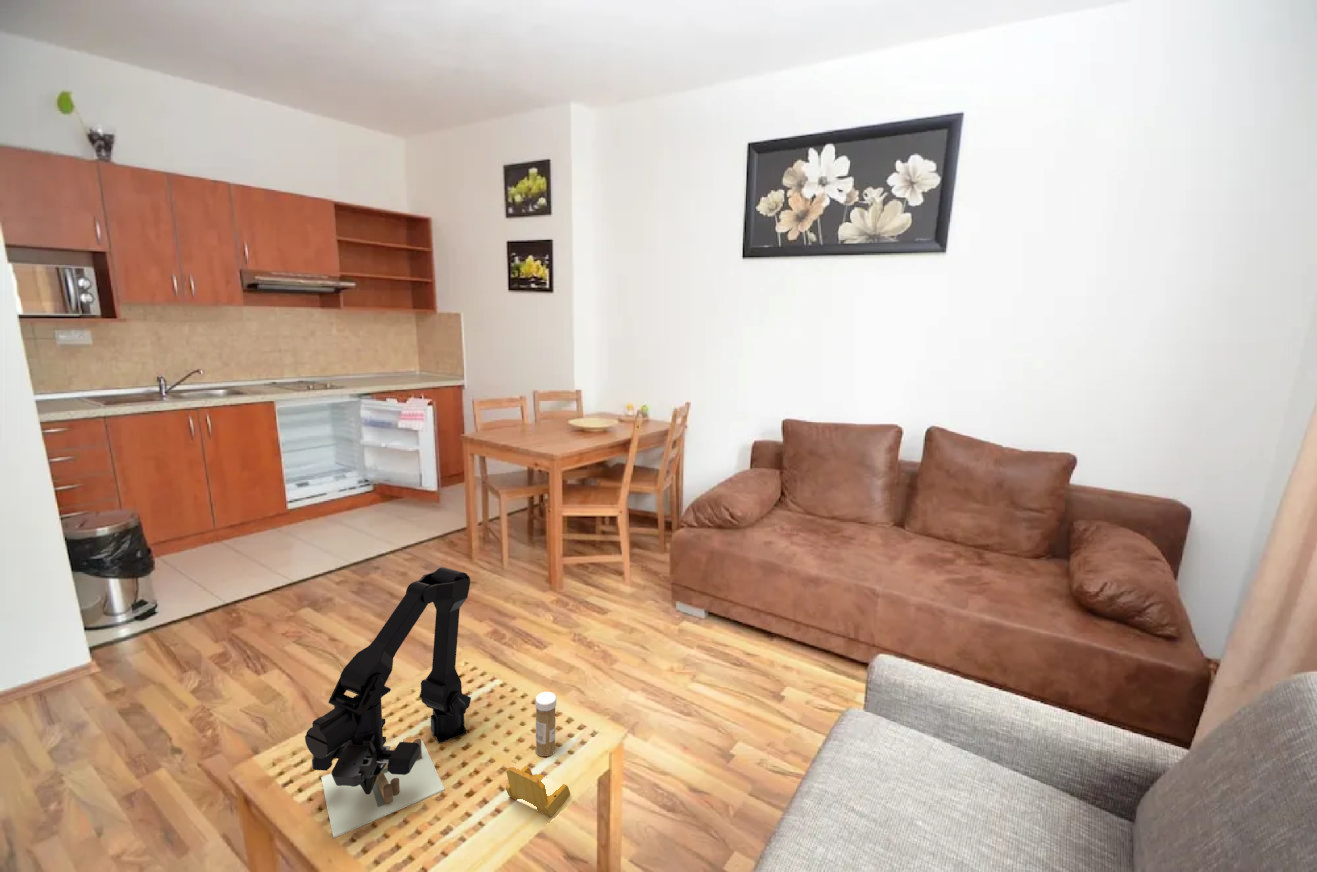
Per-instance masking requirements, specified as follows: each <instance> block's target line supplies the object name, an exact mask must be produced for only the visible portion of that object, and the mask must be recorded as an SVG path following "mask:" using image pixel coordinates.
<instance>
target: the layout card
mask: <svg viewBox="0 0 1317 872" xmlns="http://www.w3.org/2000/svg"><path fill="white" fill-rule="evenodd" d="M421 749H422V757H421V758H420V759H418V760H416V762H415V764H414V765H413V767H412V769H411V771H410V772H409V773H408V774H406V775H398V774H391V773H390V772H389V771H388V768H385V769H383V770H382V771H383V773H384V775H385V777H386V779H387V781H388V783H389V784H391V783H390V782H391V780H392V779H394V778H399V787H400V792H399V794H398V795H395V796H393V801H392V802H391V803H390V804H384V798H383V796H382V794H381V792H380V790H379V788H378V786H377V784H376V782H375V784H374V786H373V789H372V791H371V793H370V794H365V792H364V790H363V789H362V787H361V785H358V786H356V787H352V786H343V785H342V786H337V785H336V783H335V781H334V779H333V777H332V772H331V773H328V774H325V775H323V776H321V777H320V778H321V779H320V780H321V784H322V789H323V794H324V799H325V803H326V808H327V813H328V817H329V823H330V828H331V833H332V838H333V839H335V838H337V837H340V836H342V835H344V834H346V833H349V832H352V831H354V830H355V829H358V828H360V827H361V828H362V827H363V826H366V825H367V824H369V823H372V822H374V821H377V820H380V819H381V818H382V819H383V818H384V817H385V816H388V815H391V814H393V813H395V812H399V811H400V810H402V809H404V808H407V807H409V806H412V805H414V804H416V803H418V802H419V803H420V802H421V801H423V800H425V799H428V798H430V797H432V796H434V795H437V794H439V793H441V792H444V791H445V787H444V783H442V780H441V777H440V775H439V774H438V771H437V770H436V767H435V765H434V762H433V761H432V758H431V756H430V753H429V752H428V750H427V747H426V745H425V743H424V741H423V739H421Z"/></svg>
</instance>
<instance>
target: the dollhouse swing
mask: <svg viewBox="0 0 1317 872" xmlns="http://www.w3.org/2000/svg"><path fill="white" fill-rule="evenodd" d="M505 773H506V777H507V780H508V781H507V784H506V786H505V790H506V793H507V795H508V796H510V797H509V798H511V797H512V798H511V799H513V800H515V801H517V799H523V800H525V801H527V802H529V803H531V804H533V805H534V806H536V807H537V810H538V811H537V812H539V813H540V814H542V815H545V816H547V817H549V818H552V817H553V815H555V813H556V812H557V811H558V809H559V808H560V807H561V806H562V805H563V804H564V802H565V801H566V800H567V799H568V797H569V796H570V795H571V792H570V789H569V785H567V784H564V783H563V784H562V786H561V787H560V788H559V789H558V790H556V791H555V792H554V793H553V794H552V795H550V796H547V794H546V789H545V785H544V784H543V783H542V782H541V780H542V778H543V777H545V776H546V775H543V774H541V773H538V774H537V773H535V774H533V773H532V771H531V768H530V767H529V766H527V765H524V767H523V768H522V769H520V768H516V767H515V766H509V767H508V768H507V769H506V771H505Z"/></svg>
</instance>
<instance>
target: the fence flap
mask: <svg viewBox="0 0 1317 872" xmlns="http://www.w3.org/2000/svg"><path fill="white" fill-rule="evenodd" d="M375 782H376V784H377V786H378V788H379V790H380V792H381V794H382V796H383V798H384V804H390V803H391V802H392V801H393V791H392V784H389V783H388V781H387V779H386V777H385V775H384V773H383V771H382V772H381V773H380V774H379V775H378V776H377V779H376V781H375Z"/></svg>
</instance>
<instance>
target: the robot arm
mask: <svg viewBox="0 0 1317 872" xmlns="http://www.w3.org/2000/svg"><path fill="white" fill-rule="evenodd" d="M470 577H471V576H469V575H468V573H466V572H465V571H459V570H455V569H451V568H447V567H444V566H443V567H441V566H440V567H439V568H438V569H436V570H435V571H433V572H430V573H426V574H424V575H422V577H420V579H419V580H416V581H412V582H411V583H410V584H408V586H407V588H406V590H405V591H406V592H405V594H404V596H403V597H402V599H401V600H400V602H399V603H398V604H397V606H396V607H395V609H394V610H393V611H392V613H391V615H390V616H389V617H388V619H386V622H385V624H383V626H382V627H381V629H380V631H379V632H378V633H377V635H376V637H374V638H373V640H372V642H371V643H370V644H369V645H368V646H365V647H364V648H363V649H362V650H360V651H358V652H357V653H356V654H355V655H354V656H353V657H352V658H351V659H350V661H348V663H347V664H346V665H345V667H344V668H343V669H342V671H341V672H340V676H339V678H338V680H337V684H336V685H335V687H334V689H333V691H332V693H331V695H330V697H329V700H328V704H330V705H332V706H334V708H333V709H331V710H330V711H328V712H326V713H325V714H324V715H322V716H320V717H318V718H316V719H314V720H313V721H312V726H311V727H309V728H308V730H307V731H306V735H305V736H304V741H305V745H306V748H307V749H308V751H309V752H310V754H311V755H312V759H311V767H312V770H313V771H325V772H326V771H328V770H330V769H331V767H332V766H333V760H337V761H336V763H335V765H334V767H333V769H332V770H331V773H332V777H333V779H334V781H335V783H336V785H337V786H342V785H343V786H352V787H356V786H358V785H361V787H362V789H363V790H364V792H365V794H370V793H371V791H372V789H373V786H374V784H375V781H376V779H377V776H378V775H379V774H380V773H381V772H382V770H383V769H384V767H385V766H386V764H387V763H388V765H387V768H388V771H389V772H390V773H391V774H398V775H406V774H408V773H409V772H410V771H411V769H412V767H413V765H414V764H415V762H416V760H417V758H418V757H419V755H420V746H419V744H418V743H412V742H410V741H409V742H408V741H407V742H406V741H399V743H398V744H397V745H396V747H395V748H394V749H395V750H393V749H391V746H390V745H385V743H386V742H387V736H383V734H384V733H383V731H384V730H383V727H384V726H385V724H386V718H384V717H383V712H382V711H383V710H382V708H383V707H382V698H383V697H384V696H385V695H387V694H389V693H390V692H391V687H388V686H386V684H387V681H388V680H389V677H390V675H391V674H392V671H393V664H394V658H395V655H396V654H397V652H398V651H399V649H400V647H401V646H402V644H403V643H404V642H405V640H406V638H407V637H408V636H409V634H410V632H411V631H412V629H413V628H414V626H415V625H416V623H417V622H418V620H419V619H420V617H421V616H422V614H423V613H424V612H425V609H427V606H428V604H432V603H433V605H434V607H435V622H434V624H435V625H434V637H433V650H432V666H431V671H430V673H429V674H428V676H427V677H426V678H424V679H423V680H421V682H420V693H419V698H420V699H421V703H422V704H424V705H425V706H426V707H427V708H428V709H432V714H431V715H430V731H431V734H432V736H433V738H435V739H436V741H437V743H438V744H442V743H444V742H447V741H449V740H452V739H455V738H457V737H460V736H462V735H465V734H467V732H468V730H467V728H466V727H465V714H466V713H467V709H469V708H470V705H471V700H472V697H471V696H469V695H466V694H464V693H463V690H462V687H463V686H462V681H461V680H462V679H461V678H460V676H459V674H458V672H457V669H456V662H457V648H458V636H459V624H460V623H459V622H460V621H459V620H460V609H461V608H462V606H463V604H464V603H465V601H466V600H467V599H468V597H469V591H470V587H471V578H470ZM347 691H348V692H349V693H353V694H355V696H353V697H351V696H349V695H347V694H345V693H346V692H347Z"/></svg>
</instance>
